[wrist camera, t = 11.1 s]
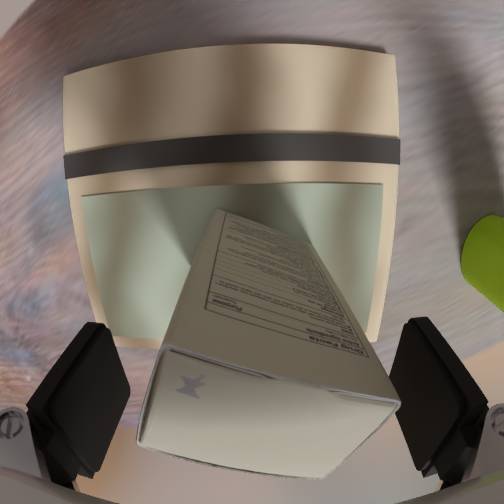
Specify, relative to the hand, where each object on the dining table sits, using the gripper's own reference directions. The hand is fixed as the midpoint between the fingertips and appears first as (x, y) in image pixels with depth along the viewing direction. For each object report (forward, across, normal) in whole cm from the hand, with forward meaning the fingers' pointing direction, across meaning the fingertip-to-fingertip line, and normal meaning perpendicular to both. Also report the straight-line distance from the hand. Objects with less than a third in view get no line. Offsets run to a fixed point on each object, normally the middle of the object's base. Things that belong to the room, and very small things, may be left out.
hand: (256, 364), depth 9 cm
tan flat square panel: (+10, +2, -2) cm, 11 cm away
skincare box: (+10, 0, 0) cm, 10 cm away
